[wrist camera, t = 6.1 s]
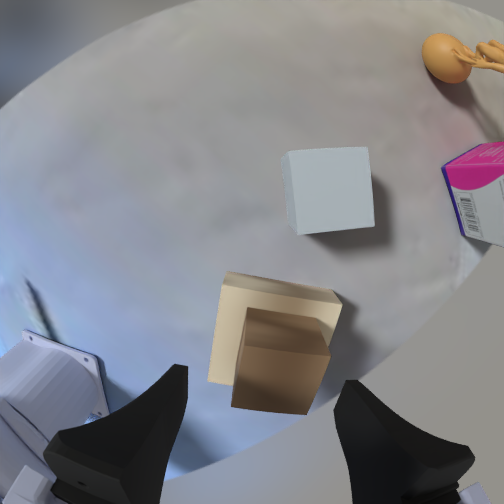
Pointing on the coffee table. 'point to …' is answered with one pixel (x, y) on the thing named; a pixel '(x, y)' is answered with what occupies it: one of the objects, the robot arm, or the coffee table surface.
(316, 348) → the walnut cube
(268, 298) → the beech slab
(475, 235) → the supplement box
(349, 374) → the coffee table surface
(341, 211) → the grey cube
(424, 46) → the figurine
